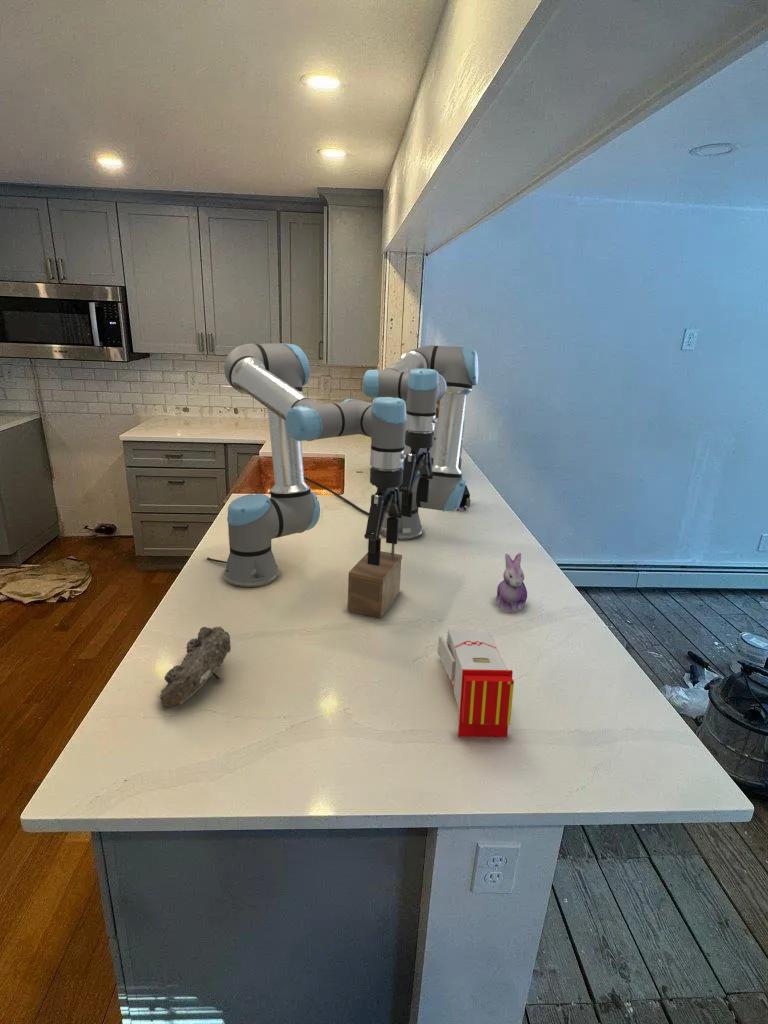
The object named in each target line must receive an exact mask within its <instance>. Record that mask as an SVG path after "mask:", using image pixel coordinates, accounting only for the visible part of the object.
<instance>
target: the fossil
mask: <svg viewBox="0 0 768 1024" xmlns="http://www.w3.org/2000/svg"><path fill="white" fill-rule="evenodd" d="M231 648H232V647H231V635H230V633H229V631H225V630H224V628H223V627H222V626H215V627H214V626H213V627H212V628H211V627H207V626H202V627H200V629H199V631H198V633H197V637H195V638H191V639H189V640H188V641H187V643H186V654H185V656H184V657H183V660H182V661H181V663H180V665H178V664H177V665H174V666H173V667H172V668H171V669H170V670H168V672H166V673H165V675H164V678H163V679H164V681H165V682H166V683H167V684H166V685H165V687H164V688H162V689H161V690H160V694H159V700H160V703H161V705H165V706H167V707H173V706H178V705H183V704H184V703H185V702H186V701H187V700H188V699H190V697H192V696H193V695H194V694H195V693H196V692H197V691H199V690H200V689H201V688H202V687H203V686H204V685H205V684H206V682H207V681H208V679H209V678H210V677H212V675H213V677H215V678H216V680H220V679H221V677H219V675H218V674H216V672H215V671H216V669H217V668H220V667H221V666H222V665H223V663H224V661H225V658H226V657H227V655H228V654H229V653H230V652H231Z"/></svg>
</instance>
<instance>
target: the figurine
mask: <svg viewBox="0 0 768 1024" xmlns="http://www.w3.org/2000/svg"><path fill="white" fill-rule="evenodd" d="M511 557H512V556H511V555H509V553H505V555H504V559H505V560H504V561H505V569H504V571H503V580H502V581H500V582H499V583H498V585H497V589H496V597H495V603H496V606H497V607H499V609H500V610H501V611H502V612H505V613H512V614H513V613H517V612H519V611H522V610H523V609H524V608H525V605H526V602H527V599H528V590H527V586H526V584H525V582H524V580H525V574H524V571H523V569H522V567H521V562H522V561H521V560H522V553H521V552H518V553H516V554H515V557H514V559H512V558H511Z"/></svg>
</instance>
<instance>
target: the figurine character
mask: <svg viewBox="0 0 768 1024" xmlns="http://www.w3.org/2000/svg"><path fill="white" fill-rule="evenodd" d="M466 507H468V508H470V507H471V493H470V491H469V488H468V486H467V485H466V484H465V489H464V493H463V497H462V500H461V503H460V505H459V508H458V509H457V510H456V511H459V510H460V509H463V511H465V512H466V511H467V508H466Z"/></svg>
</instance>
